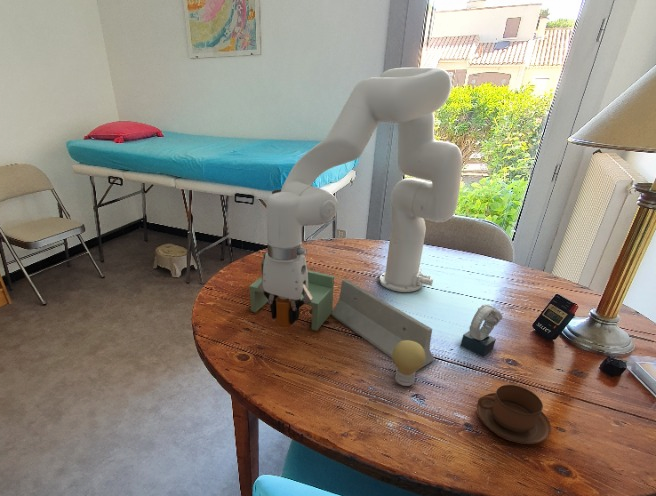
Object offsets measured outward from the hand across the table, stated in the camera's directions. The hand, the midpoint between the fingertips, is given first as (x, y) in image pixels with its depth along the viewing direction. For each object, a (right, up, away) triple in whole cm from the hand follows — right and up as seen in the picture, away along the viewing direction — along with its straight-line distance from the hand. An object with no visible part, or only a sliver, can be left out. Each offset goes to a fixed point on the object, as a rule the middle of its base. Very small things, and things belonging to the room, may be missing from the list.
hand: (284, 318), depth 98 cm
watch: (+45, -7, -3) cm, 46 cm away
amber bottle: (0, -1, +1) cm, 1 cm away
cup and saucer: (+41, -18, -23) cm, 51 cm away
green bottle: (-4, +8, +10) cm, 14 cm away
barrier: (+23, -5, +2) cm, 24 cm away
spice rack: (+2, +1, +13) cm, 13 cm away
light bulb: (+25, -13, -12) cm, 31 cm away
